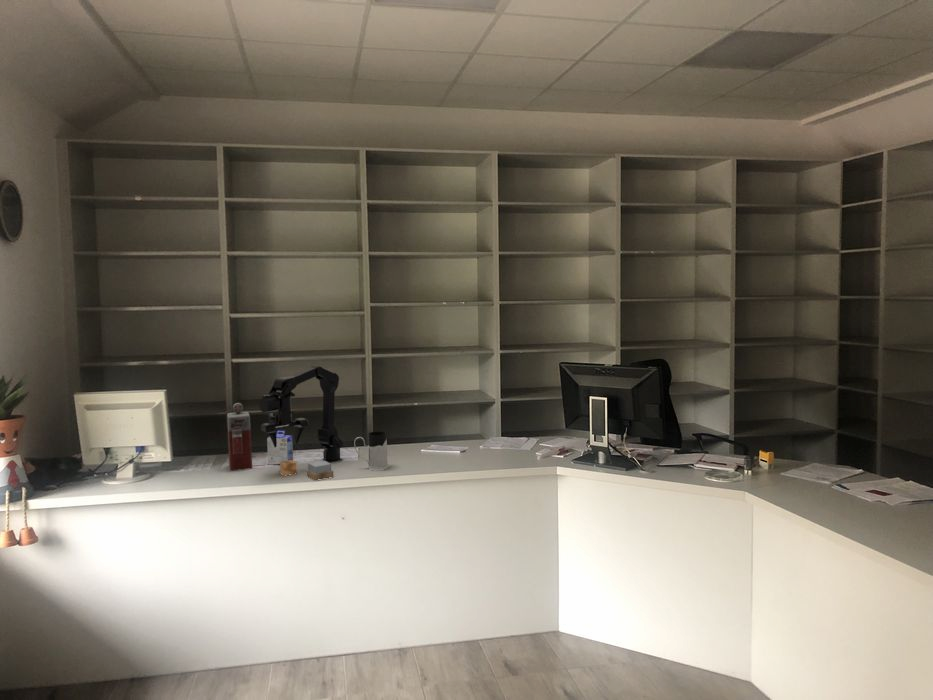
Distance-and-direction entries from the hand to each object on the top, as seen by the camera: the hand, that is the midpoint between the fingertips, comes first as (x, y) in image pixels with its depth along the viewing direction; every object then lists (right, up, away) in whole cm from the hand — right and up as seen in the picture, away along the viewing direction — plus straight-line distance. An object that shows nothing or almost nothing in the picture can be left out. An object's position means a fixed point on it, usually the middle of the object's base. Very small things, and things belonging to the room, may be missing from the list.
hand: (285, 445), depth 279 cm
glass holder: (+35, -11, +8) cm, 37 cm away
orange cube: (+1, -12, +1) cm, 12 cm away
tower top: (+15, -10, -5) cm, 19 cm away
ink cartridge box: (-7, -11, +17) cm, 21 cm away
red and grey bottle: (-23, -12, +11) cm, 28 cm away
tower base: (+15, -13, -5) cm, 21 cm away
